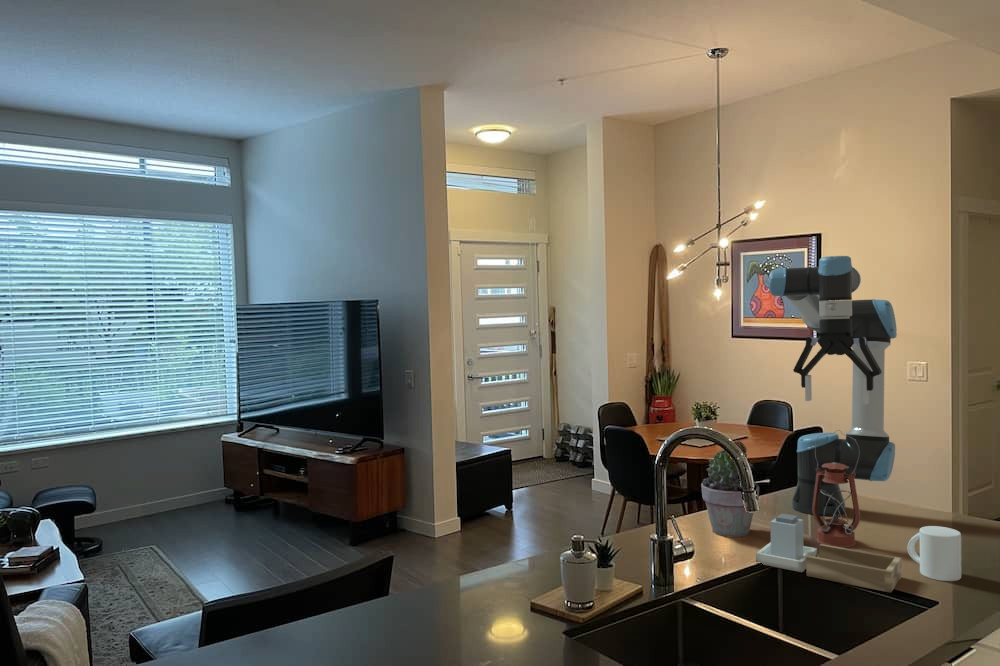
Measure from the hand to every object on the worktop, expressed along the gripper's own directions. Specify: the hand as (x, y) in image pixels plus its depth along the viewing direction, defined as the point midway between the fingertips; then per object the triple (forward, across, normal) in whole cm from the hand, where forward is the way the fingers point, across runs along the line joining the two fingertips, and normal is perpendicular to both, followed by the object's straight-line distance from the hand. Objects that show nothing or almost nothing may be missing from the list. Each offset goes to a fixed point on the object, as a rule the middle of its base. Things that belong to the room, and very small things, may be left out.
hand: (836, 402), depth 185 cm
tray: (+39, -9, -12) cm, 42 cm away
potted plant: (+39, -29, +2) cm, 49 cm away
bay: (+39, +7, -14) cm, 42 cm away
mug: (+39, +21, -1) cm, 44 cm away
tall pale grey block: (+38, -9, -12) cm, 40 cm away
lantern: (+39, -3, +10) cm, 40 cm away
